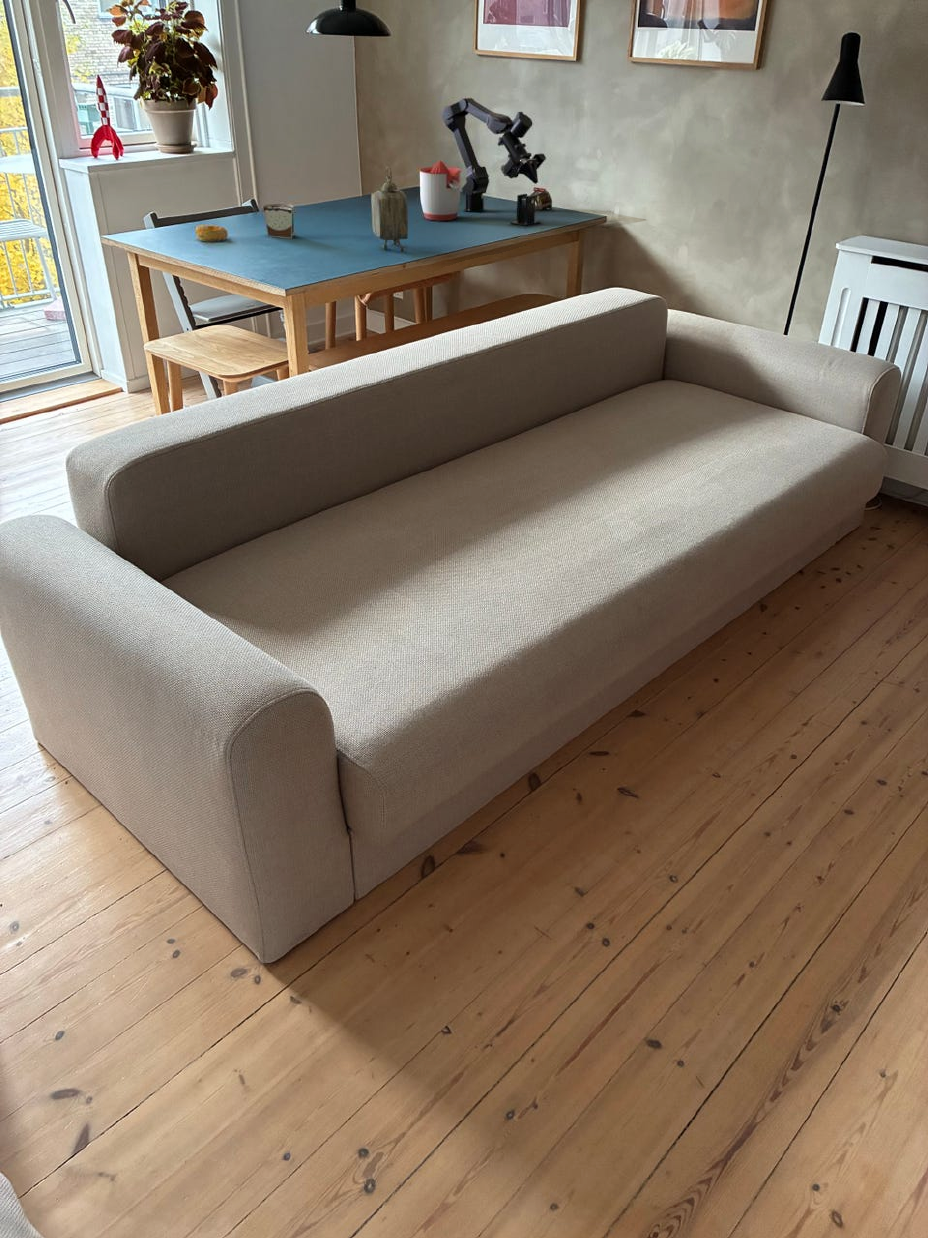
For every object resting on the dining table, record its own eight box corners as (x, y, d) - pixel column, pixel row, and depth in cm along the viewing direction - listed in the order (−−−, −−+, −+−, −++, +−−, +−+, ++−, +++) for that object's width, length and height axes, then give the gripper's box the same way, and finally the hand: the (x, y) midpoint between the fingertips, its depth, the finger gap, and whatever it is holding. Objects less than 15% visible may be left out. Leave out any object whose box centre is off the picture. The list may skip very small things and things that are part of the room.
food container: (303, 235, 334) (301, 204, 328) (295, 238, 329) (293, 207, 324) (272, 232, 337) (269, 202, 332) (264, 235, 332) (261, 205, 327)
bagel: (218, 243, 322) (216, 228, 319) (190, 240, 325) (188, 226, 322) (234, 237, 330) (232, 223, 327) (207, 235, 333) (205, 220, 330)
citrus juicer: (440, 224, 350) (440, 165, 339) (411, 217, 361) (410, 160, 350) (472, 219, 359) (473, 161, 348) (442, 212, 370) (442, 156, 359)
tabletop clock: (408, 252, 311) (406, 169, 297) (381, 254, 309) (378, 170, 295) (398, 243, 323) (396, 163, 309) (372, 245, 321) (368, 164, 307)
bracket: (525, 222, 356) (526, 192, 350) (540, 224, 352) (541, 194, 346) (510, 225, 350) (511, 195, 344) (524, 228, 346) (526, 197, 340)
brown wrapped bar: (536, 191, 352) (534, 184, 350) (546, 192, 349) (545, 186, 347) (519, 204, 348) (518, 198, 346) (529, 206, 345) (528, 199, 343)
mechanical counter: (555, 198, 368) (554, 188, 375) (522, 194, 367) (522, 184, 374) (552, 216, 373) (551, 206, 380) (519, 213, 372) (519, 202, 379)
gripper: (518, 160, 361) (539, 194, 361) (486, 165, 350) (508, 200, 350) (535, 138, 353) (557, 174, 352) (502, 143, 341) (525, 179, 341)
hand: (536, 182), depth 349 cm, fingers closed
